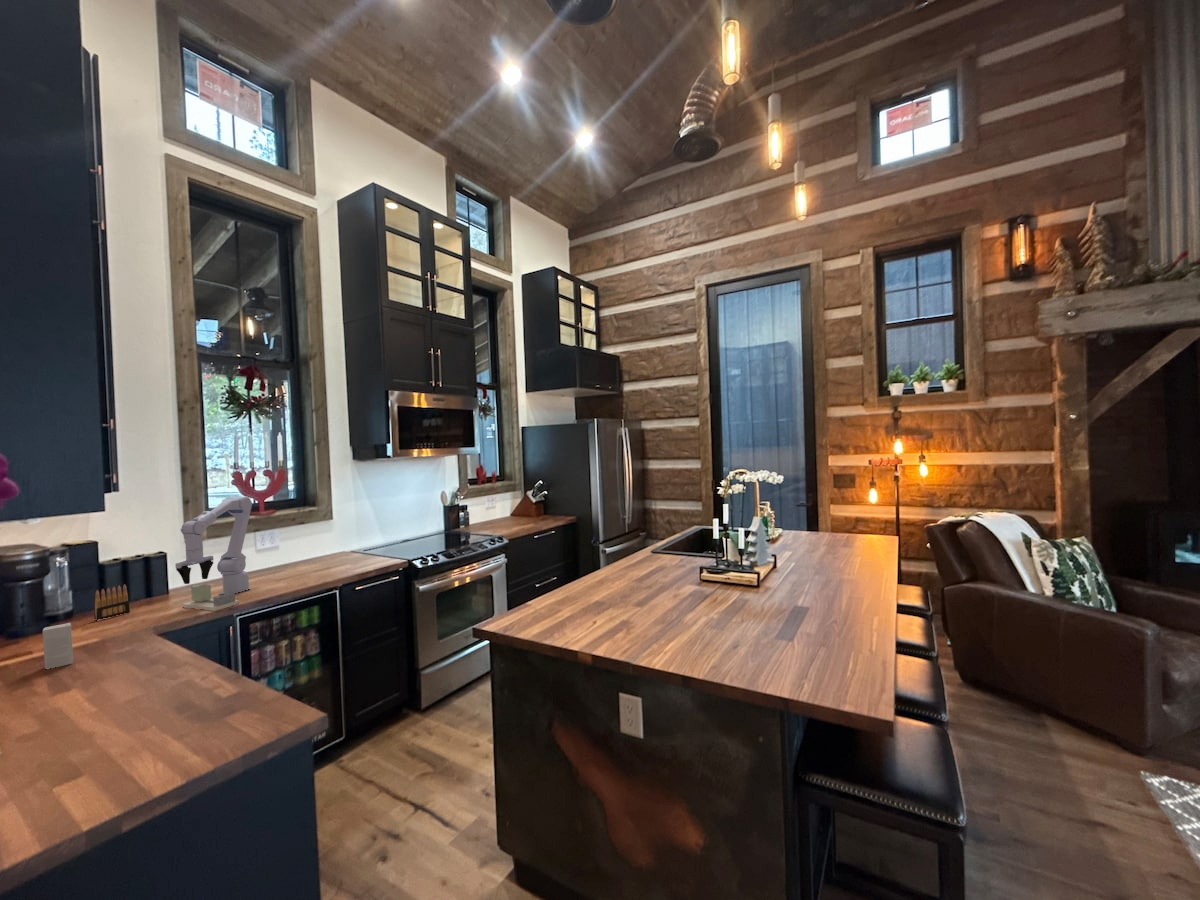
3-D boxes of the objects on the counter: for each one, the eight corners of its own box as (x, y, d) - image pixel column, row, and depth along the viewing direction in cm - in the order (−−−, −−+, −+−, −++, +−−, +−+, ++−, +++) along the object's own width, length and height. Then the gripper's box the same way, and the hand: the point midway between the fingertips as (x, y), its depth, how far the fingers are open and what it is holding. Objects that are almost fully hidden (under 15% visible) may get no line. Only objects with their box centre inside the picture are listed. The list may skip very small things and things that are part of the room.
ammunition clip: (96, 621, 202) (95, 590, 202) (94, 621, 203) (92, 590, 203) (130, 612, 212) (128, 583, 212) (127, 612, 213) (126, 583, 213)
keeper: (201, 598, 223) (201, 584, 223) (211, 599, 221) (210, 585, 221) (191, 600, 219) (191, 586, 219) (201, 601, 217) (200, 587, 217)
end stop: (231, 600, 218) (230, 592, 218) (235, 601, 217) (234, 593, 217) (213, 605, 212) (213, 597, 212) (217, 606, 211) (217, 597, 211)
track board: (207, 600, 226) (207, 596, 226) (239, 603, 219) (239, 599, 219) (182, 607, 217) (182, 603, 217) (214, 611, 209) (214, 606, 209)
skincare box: (73, 660, 162) (71, 622, 162) (73, 663, 159) (71, 625, 159) (45, 666, 158) (43, 627, 158) (44, 670, 155) (42, 630, 155)
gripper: (204, 545, 227) (205, 576, 227) (169, 552, 213) (170, 585, 213) (216, 545, 225) (218, 576, 225) (182, 553, 211) (183, 586, 211)
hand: (196, 581), depth 219 cm, fingers open, 7 cm apart
